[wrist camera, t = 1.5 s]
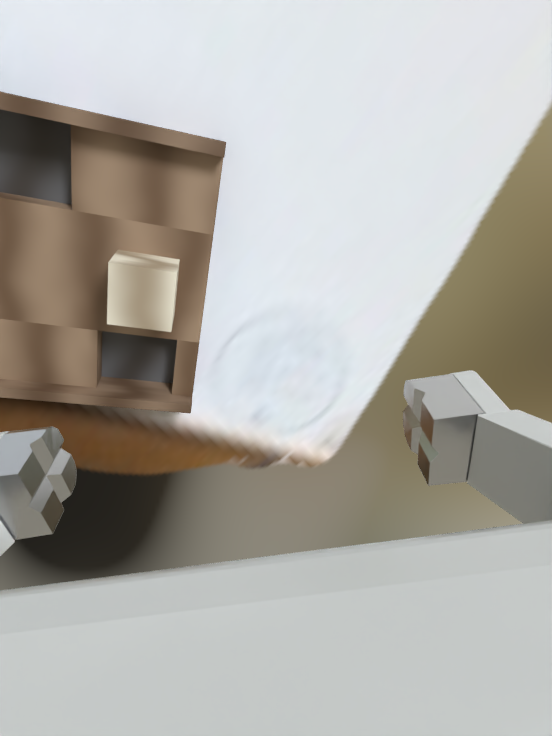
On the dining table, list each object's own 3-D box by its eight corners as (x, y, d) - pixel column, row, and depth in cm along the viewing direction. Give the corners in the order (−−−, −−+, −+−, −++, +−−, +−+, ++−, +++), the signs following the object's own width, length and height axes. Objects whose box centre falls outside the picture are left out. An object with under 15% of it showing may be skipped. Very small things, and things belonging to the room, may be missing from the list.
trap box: (-117, 362, 40) (-148, 384, 36) (-192, 48, 29) (-246, 37, 25) (191, 392, 46) (190, 413, 42) (224, 141, 35) (225, 142, 32)
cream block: (115, 306, 38) (106, 324, 34) (117, 249, 35) (108, 262, 32) (174, 314, 39) (171, 332, 35) (179, 259, 37) (177, 272, 33)
